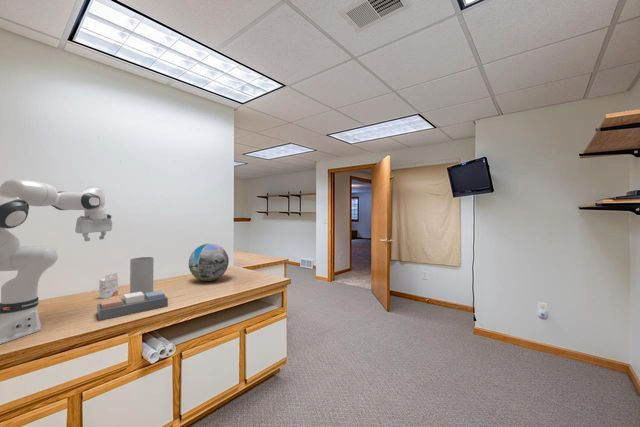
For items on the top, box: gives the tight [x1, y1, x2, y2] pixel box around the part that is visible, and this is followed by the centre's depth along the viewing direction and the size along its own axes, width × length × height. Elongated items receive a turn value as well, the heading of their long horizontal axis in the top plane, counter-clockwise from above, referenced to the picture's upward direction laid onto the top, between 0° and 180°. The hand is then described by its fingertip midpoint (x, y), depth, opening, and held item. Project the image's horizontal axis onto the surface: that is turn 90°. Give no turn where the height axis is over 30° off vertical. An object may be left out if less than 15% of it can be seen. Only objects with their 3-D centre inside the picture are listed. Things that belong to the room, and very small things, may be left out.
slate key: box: [145, 290, 165, 301], centre depth 156 cm, size 8×8×4 cm
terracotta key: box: [100, 297, 123, 309], centre depth 142 cm, size 8×8×4 cm
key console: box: [96, 294, 169, 321], centre depth 149 cm, size 31×13×5 cm, turn 134°
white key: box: [123, 292, 144, 305], centre depth 149 cm, size 8×8×4 cm
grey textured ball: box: [188, 243, 230, 282], centre depth 213 cm, size 30×30×30 cm
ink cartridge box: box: [98, 272, 119, 300], centre depth 171 cm, size 9×5×15 cm, turn 168°
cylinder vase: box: [129, 256, 154, 296], centre depth 171 cm, size 12×12×25 cm
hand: (94, 240), depth 149 cm, fingers open, 8 cm apart
